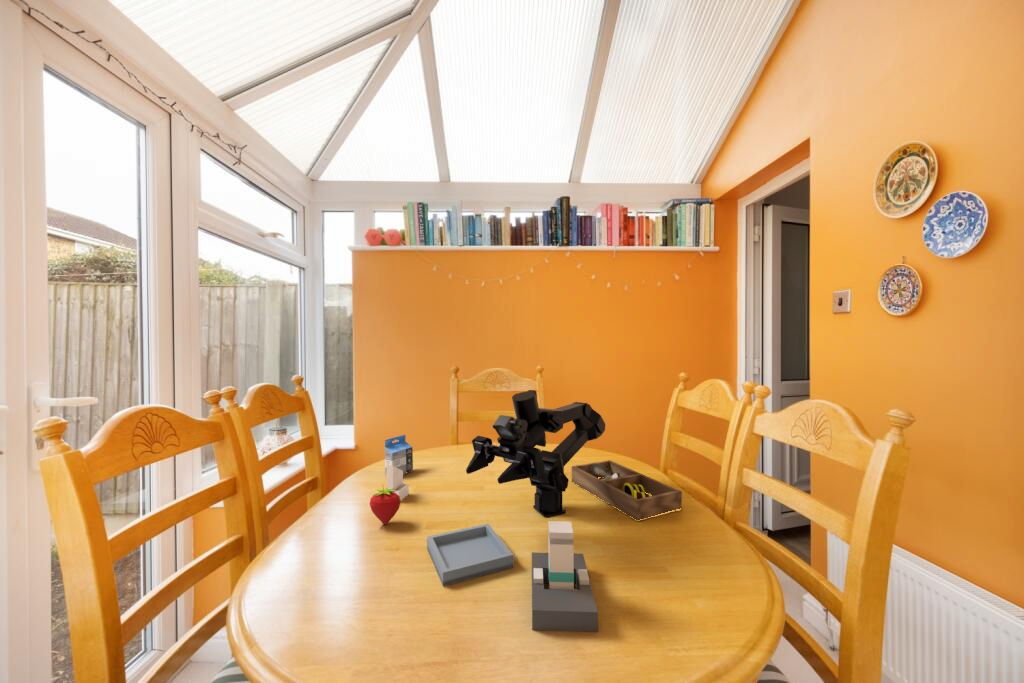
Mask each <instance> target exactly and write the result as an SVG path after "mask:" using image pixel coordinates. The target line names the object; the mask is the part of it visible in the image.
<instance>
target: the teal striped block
mask: <svg viewBox="0 0 1024 683" xmlns="http://www.w3.org/2000/svg"><path fill="white" fill-rule="evenodd" d="M547 528H548V532H547V533H548V534H547V535H548V538H547V539H548V553H549V558H548V570H549V585H548V589H550V590H575V589H574V588H575V587H574V586H575V585H574V559H573V553H574V530H573V525H572V522H571V521H558V520H557V521H555V520H554V521H552V520H551V521H549V520H548V527H547Z"/></svg>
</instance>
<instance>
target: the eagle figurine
mask: <svg viewBox="0 0 1024 683" xmlns="http://www.w3.org/2000/svg"><path fill="white" fill-rule="evenodd" d="M590 469H591V471H592V472H593V473H595V474H597V475H598V476H601V477H604V478H601V480H602V481H603V480H608V479H613V478H619V477H620V470H619V472H617V474H616V473H615V474H614V475H612V476H611V472H610V470H609V469H607V468H604V467H603V466H602V465H600V464H593V465H592V466H591V468H590Z"/></svg>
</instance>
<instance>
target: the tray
mask: <svg viewBox="0 0 1024 683" xmlns="http://www.w3.org/2000/svg"><path fill="white" fill-rule="evenodd" d="M426 549H427V552H428V554H429V556H430V558H431V561H432V563H433V565H434V569H435V571H436V573H437V575H438V578H439V579H440V580H439V581H440V582H441V585H442V586H443V587H446V586H449V585H453V584H457V583H460V582H465V581H469V580H472V579H475V578H480V577H483V576H486V575H491V574H494V573H498V572H502V571H505V570H508V569H512V568H514V564H515V563H514V553H512V551H511V549H510V548H509V547H508V546H507V544H506V543H505V542H504V541H503V540H502V538H501V537H500V536H499V535H498V534H497V532H496V531H495V530H494V529H493V528H492V527H491V525H490V524H489V523H484V524H480V525H476V526H475V525H474V526H469V527H465V528H460V529H457V530H451V531H448V532H446V531H445V532H442V533H438V534H434V535H428V536H426Z"/></svg>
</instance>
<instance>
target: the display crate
mask: <svg viewBox="0 0 1024 683" xmlns="http://www.w3.org/2000/svg"><path fill="white" fill-rule="evenodd" d="M593 464H600V465H602V466H603V467H604V468H607V469H609V470H610V472H611V476H612V475H614V474H615V473H616V474H617V472H619V470H620V477H619V478H613V479H608V480H603V481H602V479H601V478H600V479H598V477H601V476H598V475H597V474H595V473H593V472H592V471H591V469H590V468H591V466H592V465H593ZM572 482H574V483H575V484H574V483H573V484H574V485H576V484H577V485H579V486H580V487H582V488H583V489H582V488H581V489H582V490H584V489H585V490H587V491H589V492H590V493H592V494H594V495H596V496H597V497H599V498H600V499H602V500H604V501H605V502H607V503H609V504H611V505H612V506H614V507H616V508H618V509H619V510H621V511H622V512H624V513H626V514H627V515H629V516H631V517H633V518H634V519H636V520H640V519H644V518H648V517H651V516H655V515H658V514H661V513H665V512H668V511H672V510H676V509H680V508H683V507H682V506H683V505H682V504H683V501H682V499H683V496H682V495H683V494H682V493H683V491H682V490H679V489H678V488H676V487H672V486H670V485H668V484H666V483H663V482H661V481H659V480H657V479H654V478H652V477H650V476H647V475H645V474H642V473H641V472H638V471H636V470H633V469H631V468H629V467H627V466H624V465H622V464H620V463H617V462H615V461H613V460H611V459H610V460H609V459H608V460H602V461H597V462H590V463H586V464H585V463H584V464H579V465H578V464H577V465H572V466H571V483H572ZM625 483H629V484H630V485H632V484H634V485H642V486H643V488H644V491H645V492H646V493H648V494H651V495H652V496H650V497H645V498H641V499H636V498H634V497H632V496H631V495H629V494H627V493H625V492H623V491H622V487H623V485H624V484H625ZM577 485H576V486H577ZM579 486H578V487H579ZM580 487H579V488H580ZM585 490H584V491H585ZM587 491H586V492H587ZM589 492H588V493H589ZM590 493H589V494H590ZM592 494H591V495H592ZM594 495H593V496H594ZM597 497H596V498H597ZM599 498H598V499H599ZM600 499H599V500H600ZM602 500H601V501H602ZM604 501H603V502H604ZM605 502H604V503H605ZM607 503H606V504H607ZM609 504H608V505H609ZM612 506H611V507H612ZM614 507H613V508H614ZM619 510H618V511H619ZM622 512H621V513H622ZM624 513H623V514H624ZM627 515H626V516H627ZM629 516H628V517H629ZM634 519H633V520H634Z"/></svg>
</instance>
